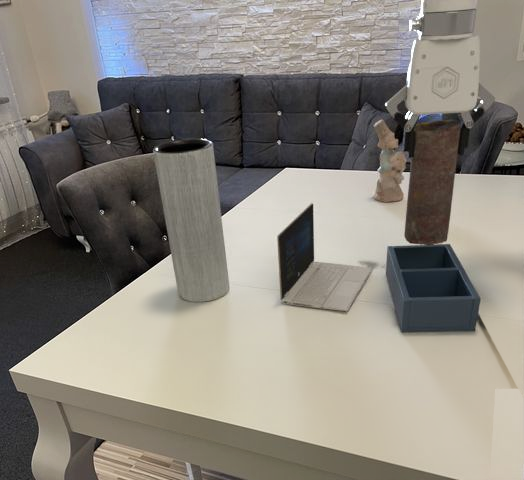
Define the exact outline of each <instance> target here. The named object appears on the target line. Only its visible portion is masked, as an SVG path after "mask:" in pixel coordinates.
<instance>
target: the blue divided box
mask: <svg viewBox="0 0 524 480" xmlns="http://www.w3.org/2000/svg"><path fill="white" fill-rule="evenodd" d="M385 276H386V280H387V283H388V288H389V291H390V295H391V298H392V299H391V300H392V302H393V306H394V310H395V314H396V318H397V321H398V325H399V329H400V332H401V333H438V332H439V333H443V332H444V333H445V332H447V333H448V332H475V331H476V329H477V322H478V317H479V312H480V306H481V300H482V299H481V297H480V294H479V293H478V292H477V290H476V288H475V286H474V284H473V282H472V281H471V279H470V277H469V275H468V274H467V271H466V270H465V268H464V266H463V264H462V263H461V261H460V259H459V258H458V256H457V254H456V252H455V250H454V249H453V246H452V245H451V244H450V243H438V244H433V245H424V244H422V245H421V244H410V245H387V247H386V263H385Z"/></svg>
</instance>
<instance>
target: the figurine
mask: <svg viewBox="0 0 524 480" xmlns="http://www.w3.org/2000/svg"><path fill="white" fill-rule="evenodd" d="M373 128H374V131H375V133H376V135H377V137H378V142H377V147H378V148H379V149H381V153H380V154H379V168H378V169H377V172H378V173H379V178H378V179H377V181H376V188H375V191H374V192H373V194H372V198H373V199H374V200H376V201H379V202H384V203H389V202H399V201H401V200H403V198H404V196H405V194H404V192H403V190H402V187H401V186H400V185H401V184H402V182H403V181H404V180H405V176H404V175H402V174H403V172H404V171H405V170H406V169H407V166H406V163H407V159H406V156H405V155H406V154H404V152H403V151H402V150H401V151H398V152H395V150H394V149H397V148H399V139H398V138H395V135H396V134H395V132H393V131H391V130H390V128H389V127H388V125H387V123H386V122H385V120H384V119H379V120H378V121H376V122H375V124H373Z"/></svg>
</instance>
